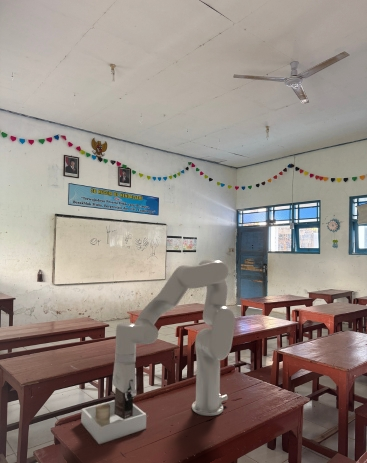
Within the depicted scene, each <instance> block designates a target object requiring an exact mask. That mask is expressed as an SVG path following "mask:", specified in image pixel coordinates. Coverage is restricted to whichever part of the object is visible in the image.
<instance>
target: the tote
mask: <svg viewBox="0 0 367 463" xmlns="http://www.w3.org/2000/svg"><path fill="white" fill-rule="evenodd" d="M100 404H108V405H110V424H109V425H106V426H102V427H101V426H100V425H99V424H98V423H97V422H96V421H95V415H96V406H98V405H100ZM114 411H115V399H113V400H110V401H107V402H102V403H98V404H94V405H91V406H88V407H84V408H81V418H80V419H81V420H80V423H81V424H82V426H83V427H84V428H85V429H86V430H87V432H88V433H89V434H90V435H91V437H92V438H93V439H94V440H95V442H96V443H97V444H98V445H101V444H104V443H107V442H108V443H109V442H110V441H114V440H116V439H120V438H122V437H125V436H128V435H130V434H134V433H138V432H140V431H143V430H146V429H147V413H146V412H144V411H143V410H142V409H141V408H139V407H138V406H137V405H136V404H135V403H133V416H131V417H129V418H126V419H123V418H121V417H119V416H117V415H115V414H114Z"/></svg>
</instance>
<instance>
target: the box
mask: <svg viewBox="0 0 367 463" xmlns="http://www.w3.org/2000/svg"><path fill="white" fill-rule="evenodd" d="M114 387H115V386H114ZM128 390H130V388H128ZM128 390H127V391H128ZM114 391H115V392H114V400H115V411H114V414H115V415H117V416H119V417H121V418H123V419H126V418H129V417H131V416H133V409H132V410H130V411H126V412H125V411H124V401H125V400H126V398H125V393H123V392H121V391H120V390H118V389H117V388H116V387H115V389H114ZM127 393H128V395H129V394H130V392H127Z"/></svg>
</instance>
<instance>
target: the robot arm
mask: <svg viewBox="0 0 367 463" xmlns="http://www.w3.org/2000/svg"><path fill="white" fill-rule="evenodd" d="M228 275H229V268H228V265H227V264H226V263H225V262H223V261H221V260H218V259H217V260H215V259H204V260H201V261H200V262H199V264H198V265H185V264H184V265H180V266H177V267H176V269H174V271H173V272H172V274H171V276H170V277H169V279H168V280H167V281H166V283H165V284H164V285H163V287H162V289H161V290H160V291H159V293H158V294H157V295H156V296H155V297H154V298H152V300H151V301H150V302H148V304H147V305H146V306H144V308H143V309H142V311H141V312H140V314H139V315H138V316H137V318H136V320H135V321H134V323H133V322H121V323H120V322H119V323H118V324H117V325H116V327H115V350H114V351H115V355H114V357H115V358H114V363H113V373H112V385H113V387H116V388H117V389H118V390H120V391H121V392H123V393H125V398H126V400H125V401H124V411H125V412H126V411H130V410H132V409H133V404H134V399H135V396H136V394H137V389H136V381H137V380H136V379H137V378H136V362H137V361H136V359H137V357H136V355H137V344H141V345H150V344H153V343H155V342H156V341H157V339H158V338H159V329H158V328H157V327H156V325H155V324H156V323H157V321H158V319H159V318H161V316H162V315H164V314H165V313H167V312H169V311H172V310H174V309H175V308H176V307H177V306H178V305H179V304H180V302H181V300H182V298H183V297H184V296H185V294H186V293H187V291H188V290H191V289H192V290H193V289H194V290H195V289H199V288H203V287H206V296H205V300H204V305H203V306H204V307H203V313H202V319H203V322H204V323H205V324H206V325H208V326H210V328H203V329H201V330H200V331H198V332H197V333H196V336H195V340H194V341H195V342H194V343H195V344H194V345H195V355H196V373H195V374H196V375H195V376H196V378H195V380H196V382H195V401H193V403H192V404H191V408H192V411H193V412H195V413H196V414H198V415H200V416H206V417H209V416H210V417H211V416H212V417H213V416H218V415H220V414H222V412H224V405H223V404H222V403H224V402H225V401H227V400H228V399H229V396H228V395H227V394H224V395H221V392H220V388H221V382H220V381H221V379H220V378H221V361H222V360H225V359H226V358H228V356H229V354H230V352H231V349H232V344H233V338H234V333H235V328H236V327H235V326H236V316H235V314H234V311H233V310H232V309H231V308H229V306H226V305H227V298H228V286H227V282H226V279H227V278H228ZM128 388H130V390H128ZM127 390H128V391H127ZM127 392H130V394H129V395H128V393H127Z"/></svg>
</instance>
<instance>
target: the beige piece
mask: <svg viewBox="0 0 367 463" xmlns="http://www.w3.org/2000/svg"><path fill="white" fill-rule="evenodd" d="M99 404H100V405H98V404H97V405H98V406H96V415H95V421H96V422H97V423H98V424H99V425H100V426H101V427H102V426H106V425H109V424H110V405H108V404H102V403H99Z"/></svg>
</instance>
